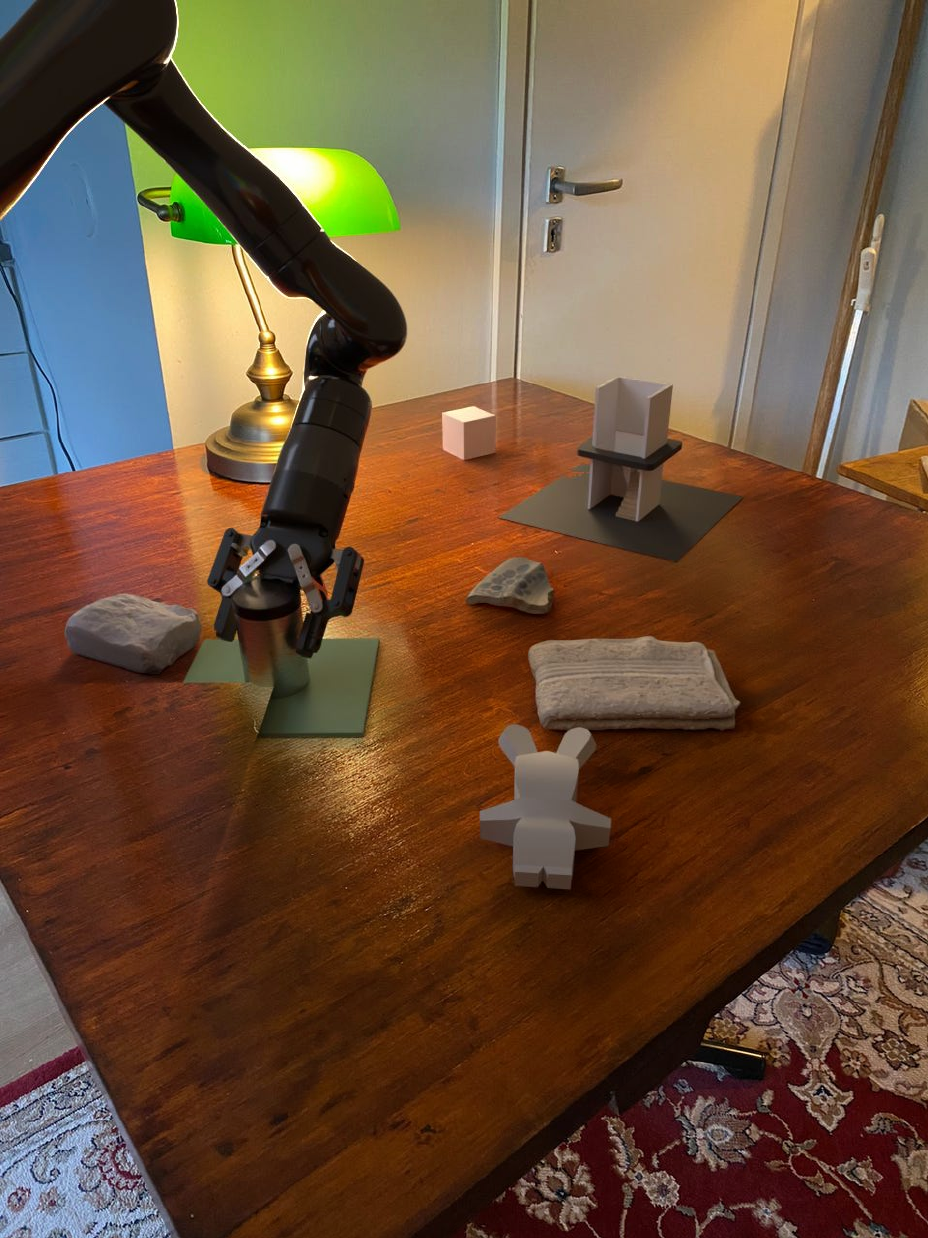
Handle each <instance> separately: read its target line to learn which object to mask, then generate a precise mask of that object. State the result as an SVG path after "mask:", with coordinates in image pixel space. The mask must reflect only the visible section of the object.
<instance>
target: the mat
mask: <svg viewBox="0 0 928 1238" xmlns="http://www.w3.org/2000/svg"><path fill="white" fill-rule="evenodd" d="M380 642H381V641H380V638H379V637H370V638H369V637H365V638H363V637H362V638H361V637H360V638H359V637H358V638H357V637H355V638H354V637H353V638H352V637H351V638H349V637H347V638H343V637H342V638H341V637H340V638H338V637H337V638H323V640H322V643H321V647H320V649H319V650H318V652H317V653H313V656H312V657H311V658H308V667H309V676H310V679H309V682H308V684H307V686H306V687H305V688H304V689H303V690H301V691H300V692H298V693H296V694H294V695H292V696H289V697H285V698H280V699H270V698H269V699H268V702H267V705H266V708H265V710H264V714H263V718H262V720H261V722H260V725H259V729H258V731H257V732H258V733H257V735H256V739H257V738H259V739H260V738H262V739H264V738H265V739H266V738H268V739H269V738H274V739H275V738H364V736H365V730H366V724H367V718H368V712H369V706H370V701H371V696H372V689H373V683H374V677H375V671H376V665H377V660H378V655H379V654H378V653H379V649H380ZM182 683H183V684H197V683H198V684H217V683H219V684H220V683H222V684H229V683H230V684H231V683H233V684H237V683H238V684H239V683H245V679H244V673H243V666H242V660H241V654H240V647H239V641H238V638H234V640H233V641H232V642H228V641H224V640H222V639H220V638H206V639H205V638H204V639H203V640H202V643H201V645H200V646H199V649H198V651H197V652H196V655H195V657H194V659H193V661H192V663H191V665H190V667H189V669H188V670H187V673H186V675H185V677H184V679H183V680H182Z"/></svg>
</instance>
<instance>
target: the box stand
mask: <svg viewBox="0 0 928 1238" xmlns="http://www.w3.org/2000/svg"><path fill="white" fill-rule="evenodd" d="M673 388H674V384H672V383H666V382H661V381H660V382H659V381H653V380H647V379H640V378H634V377H633V378H632V377H626V376H620V375H617V376H615V377H613V378H611V379H609V380H607V381H605V382H603V383H601V384H599V385H597V386H595V395H594V408H593V409H594V410H593V411H594V412H593V413H594V414H593V425H592V427H593V428H592V436H591V437H589V438H587V439H586V440H584V441H582V442H581V443H579V445H578V446H577V448H576V455H577V457H582V458H586V459H590V462H589V463H590V464H587V463H580V464H579V465H577V466H575V467H576V468H575V467H573V469H571V470H569V471H568V472H584V474H581V476H578V475H579V474H576V476H571V477H573V478H568V476H566V475H565V474H563V475H564V476H565V477H563V475H561V476H560V477H561V478H560V477H558V478H557V479H555V480H554V481H552V482H550V483H549V484H547V485H546V486H544V487H543V488H541V489H540V490H537V491H536V492H535V493H533V494H532V495H530V496H528V497H527V498H526V499H524V500H522V501H520V503H518V504H516V505H515V506H513V507H511V508H510V509H509V510H507V511H506V512H504V513H502V514H500V515H499V516H497V518H498V519H501V520H502V519H503V520H507V521H511V522H514V523H519V524H522V525H526V526H530V527H534V528H538V529H543V530H546V531H551V532H555V533H558V534H563V535H566V536H571V537H575V538H579V539H583V540H586V541H589V542H595V543H598V544H602V545H607V546H610V547H614V548H619V549H622V550H627V551H631V552H635V553H639V554H643V555H646V556H650V557H654V558H658V559H661V560H666V561H670V562H674V563H676V562H677V563H678V561H679V560H680V559H681V558H682V557H683V556H684V555H685V554H686V553H687V552H688V551H689V550H690V549H691V548H692V547H693V546H694V545H695V544H696V543H697V542H699V540H701V538H703V537H704V536H705V534H707V532H709V531H710V530H711V529H712V528H713V527H714V526H715V525H716V524H717V523H718V522H719V521H720V520H721V519H722V518H723V517H724V516H725V515H726V514H727V513H728V512H729V511H730V510H731V509H732V508H733V507H735V506H736V504H738V503H739V502H740V501H741V499H743V498H744V496H743V495H739V494H738V495H737V494H734V493H729V492H724V491H718V490H714V489H709V488H703V487H699V486H694V485H689V484H686V483H685V484H684V483H679V482H676V481H669V480H665V479H663V471H664V463H666V462H667V461H668V460H669V459H671V458H672V457H673V456H675V455H676V454H678V453H679V452H680V451H682V448H683V442H682V441H681V440H676V439H672V438H668V435H669V428H670V427H669V426H670V416H671V407H672V398H673ZM587 472H589V473H587ZM575 477H576V478H575ZM566 478H568V479H569V480H568V479H566Z"/></svg>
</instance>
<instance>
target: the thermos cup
mask: <svg viewBox="0 0 928 1238" xmlns="http://www.w3.org/2000/svg"><path fill="white" fill-rule="evenodd" d="M231 600H232V607H233V611H234V616H235V622H236V628H237V631H236V634H237V639H238V641H239V647H240V654H241V660H242V666H243V673H244V679H245V683H250V684H252V685H254V686H257V687H264V688H272V691H271V693H270V697H269V699H280V698H285V697H289V696H292V695H294V694H296V693H298V692H300V691H301V690H303V689H304V688H305V687H306V686H307V684H308V682H309V679H310V676H309V667H308V658H305V657H302V656H300V655H299V654H297V653H296V646H297V642H298V639H299V636H300V632H301V629H302V625H303V622H304V617H303V608H302V606H303V605H302V593H301V590H300V588H299V586H298V585H297V584H290V583H286V582H284V581H281V580H267V579H264V578H263V579H257V580H253V581H250V582H247V583H245V584H243V585H241V586H239V587H238V588H236V589H235V590H234V592H233V593H232V596H231Z"/></svg>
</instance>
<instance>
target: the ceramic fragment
mask: <svg viewBox="0 0 928 1238" xmlns="http://www.w3.org/2000/svg"><path fill="white" fill-rule="evenodd" d="M554 599H555V590H554V588H553V587H552V586H551V584H550V580H549V577H548V574H547V571H546V569H545V567H544V565H543V563H542V562H541V561H534V560H531V559H528V558H526V557H523V556H520V557H519V556H517V557H516V556H515V557H510V558H507V559H506V560H505V561H503V562H501V564H499V565H498V566H497V567H495V569H493V570H492V571H490V573H488V574H487V575H486V576H485V577H484V578H483V579H482V580H481V581H479V582H478V583H477V584H476V585H475V587H473V589H472V590H471V591H470V592H469V594H468V595H467V597H466V598H465V604H467V605H470V606H471V605H475V604H479V603H480V604H482V603H483V604H485V603H486V604H490V605H493V606H499V607H509V608H514V609H517V610H519V611H521V612H525V613H528V614H533V615H542V614H548V613H549V612H551V611H552V606H553V602H554Z"/></svg>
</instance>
